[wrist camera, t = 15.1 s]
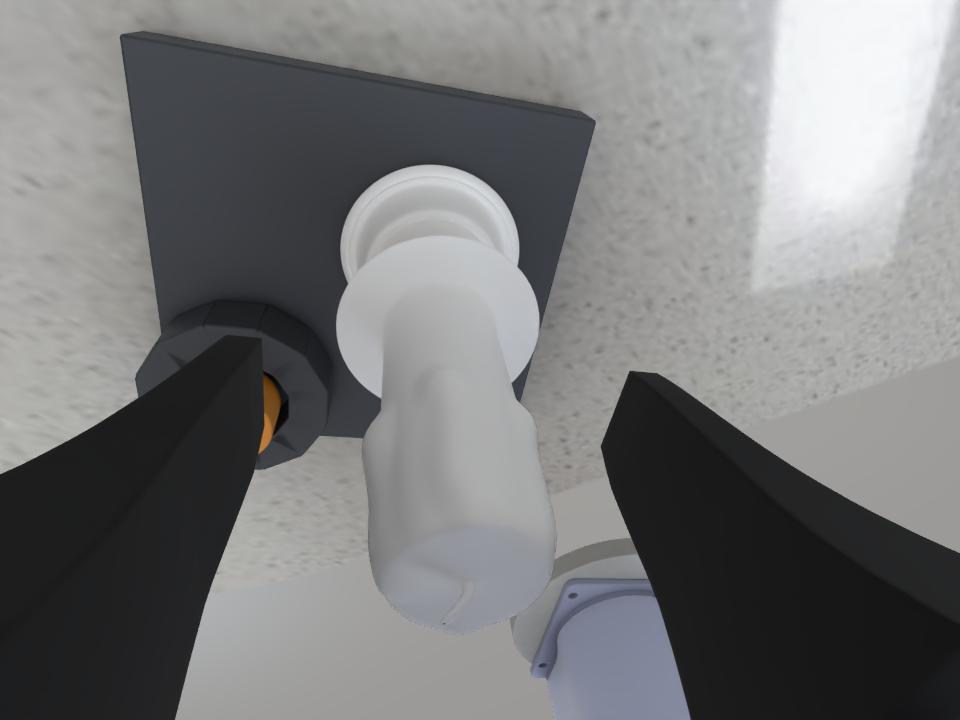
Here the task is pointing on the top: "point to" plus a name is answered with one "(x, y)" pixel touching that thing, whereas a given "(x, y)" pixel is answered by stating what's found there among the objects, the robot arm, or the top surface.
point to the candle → (446, 399)
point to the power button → (269, 410)
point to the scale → (311, 203)
